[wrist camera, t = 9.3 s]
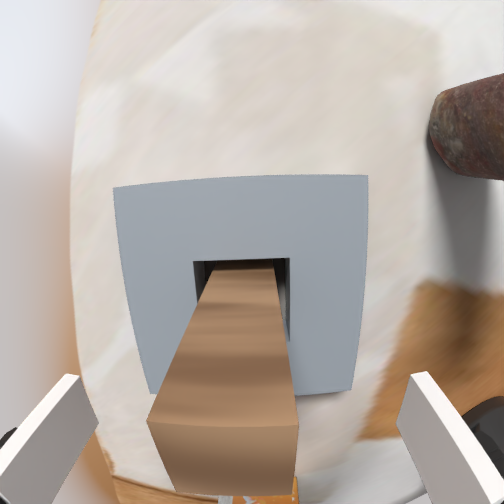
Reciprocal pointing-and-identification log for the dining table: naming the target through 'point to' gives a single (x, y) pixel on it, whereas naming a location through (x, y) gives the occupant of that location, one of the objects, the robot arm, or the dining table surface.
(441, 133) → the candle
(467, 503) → the robot arm
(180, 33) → the dining table surface
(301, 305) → the socket
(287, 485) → the peg
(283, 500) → the small box
